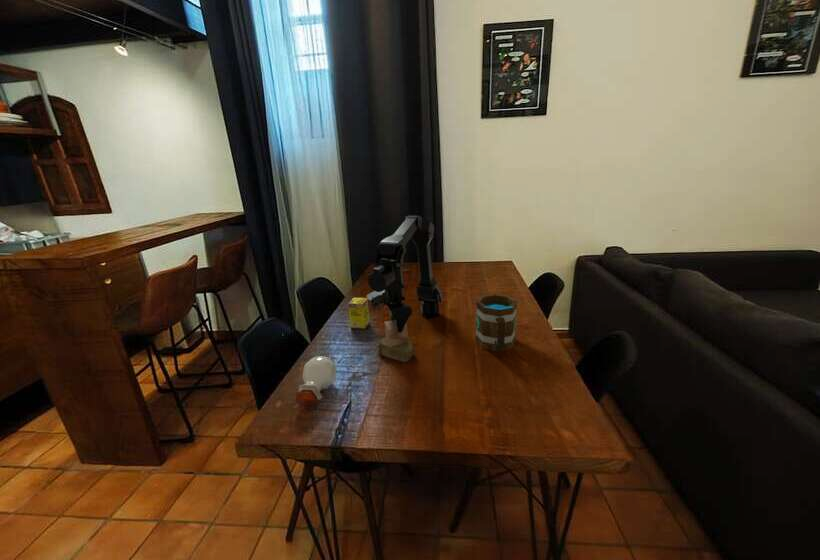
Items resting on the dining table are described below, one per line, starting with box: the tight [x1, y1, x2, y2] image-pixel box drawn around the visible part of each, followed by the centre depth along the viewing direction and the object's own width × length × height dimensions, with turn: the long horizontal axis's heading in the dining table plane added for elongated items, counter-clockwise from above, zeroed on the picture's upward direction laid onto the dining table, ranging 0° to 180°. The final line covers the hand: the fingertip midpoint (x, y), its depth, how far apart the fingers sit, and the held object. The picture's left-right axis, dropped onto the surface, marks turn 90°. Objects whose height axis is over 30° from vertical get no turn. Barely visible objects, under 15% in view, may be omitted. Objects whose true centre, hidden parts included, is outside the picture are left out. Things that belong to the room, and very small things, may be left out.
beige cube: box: [384, 320, 409, 347], centre depth 112 cm, size 6×6×6 cm
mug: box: [474, 293, 518, 353], centre depth 113 cm, size 20×14×15 cm
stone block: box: [377, 336, 415, 363], centre depth 113 cm, size 6×12×5 cm, turn 59°
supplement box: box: [347, 297, 371, 331], centre depth 133 cm, size 6×6×11 cm
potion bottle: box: [295, 355, 337, 410], centre depth 96 cm, size 9×10×15 cm
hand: (396, 325), depth 112 cm, fingers open, 9 cm apart
